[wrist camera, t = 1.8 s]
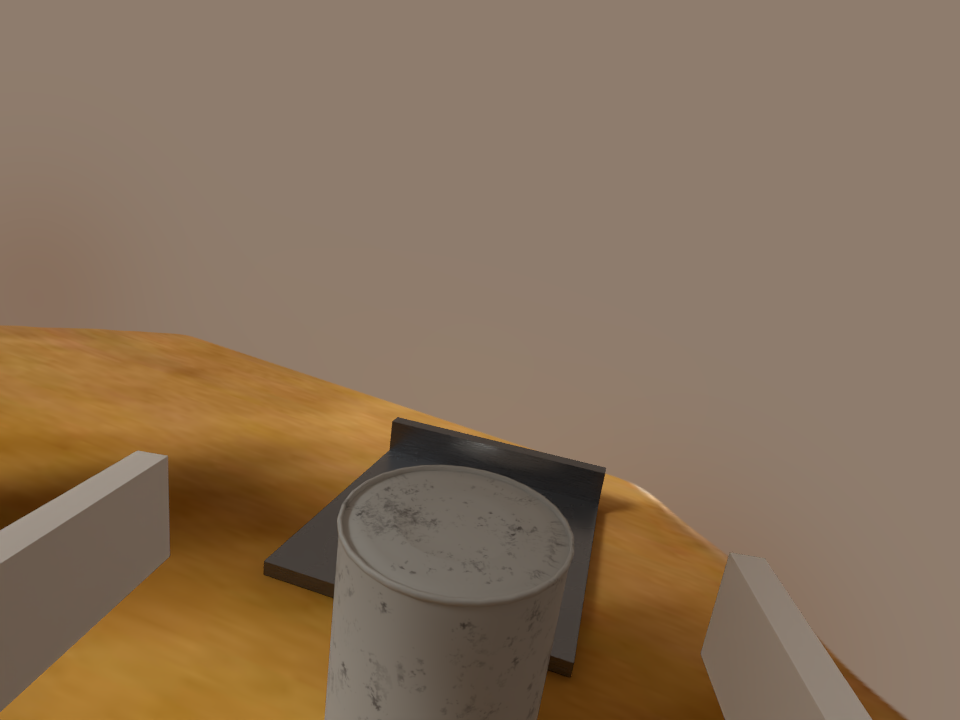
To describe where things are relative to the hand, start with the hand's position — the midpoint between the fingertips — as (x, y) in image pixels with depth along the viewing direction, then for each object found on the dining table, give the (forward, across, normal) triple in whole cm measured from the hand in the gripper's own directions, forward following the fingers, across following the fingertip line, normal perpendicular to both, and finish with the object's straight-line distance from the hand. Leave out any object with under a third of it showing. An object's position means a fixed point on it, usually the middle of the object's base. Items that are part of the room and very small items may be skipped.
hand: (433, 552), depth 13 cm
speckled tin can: (+9, 0, -17) cm, 19 cm away
